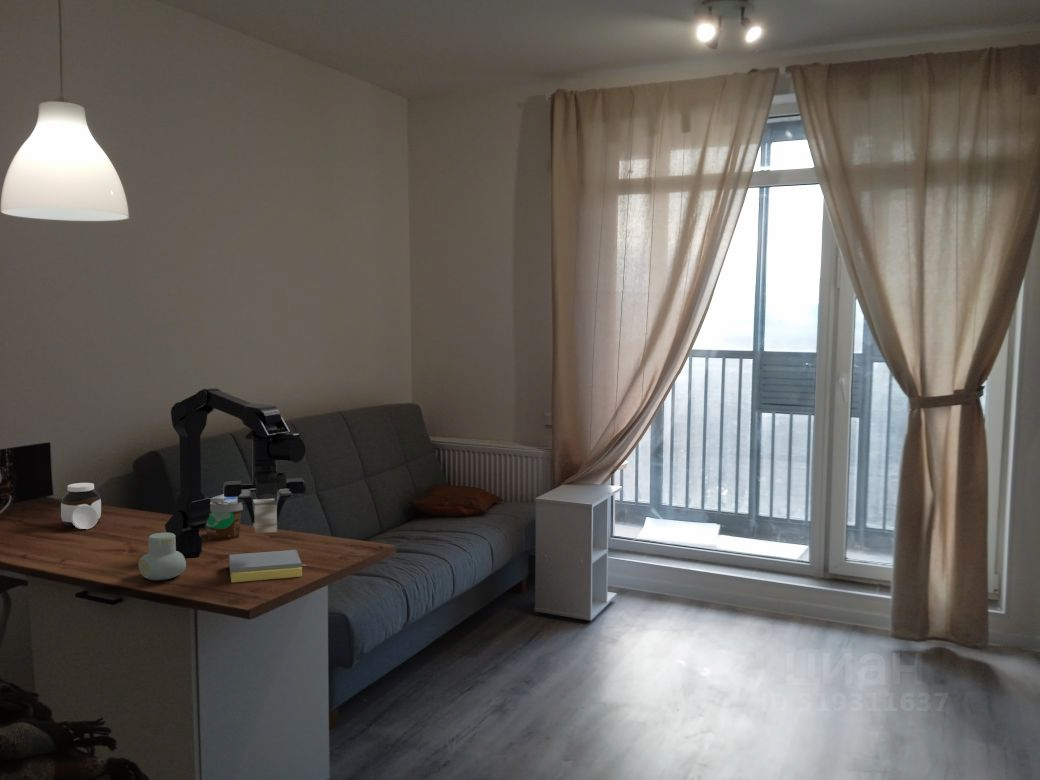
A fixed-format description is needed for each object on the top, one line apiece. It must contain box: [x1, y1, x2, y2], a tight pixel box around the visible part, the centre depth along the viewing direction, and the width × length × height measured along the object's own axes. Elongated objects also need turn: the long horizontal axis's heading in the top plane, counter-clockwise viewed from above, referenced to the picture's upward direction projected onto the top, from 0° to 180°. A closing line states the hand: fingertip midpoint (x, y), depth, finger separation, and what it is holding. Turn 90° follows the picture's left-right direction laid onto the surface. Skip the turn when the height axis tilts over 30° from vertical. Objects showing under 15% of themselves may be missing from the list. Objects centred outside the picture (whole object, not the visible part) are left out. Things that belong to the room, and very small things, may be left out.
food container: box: [205, 501, 244, 541], centre depth 232 cm, size 12×6×10 cm, turn 68°
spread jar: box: [60, 482, 102, 530], centre depth 242 cm, size 12×11×12 cm
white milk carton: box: [252, 498, 278, 534], centre depth 203 cm, size 5×8×6 cm, turn 21°
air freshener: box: [138, 532, 187, 581], centre depth 197 cm, size 11×8×10 cm
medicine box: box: [210, 493, 238, 504], centre depth 247 cm, size 8×4×9 cm, turn 168°
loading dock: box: [228, 549, 303, 583], centre depth 203 cm, size 16×13×3 cm
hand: (264, 522), depth 203 cm, fingers closed on white milk carton, 5 cm apart
